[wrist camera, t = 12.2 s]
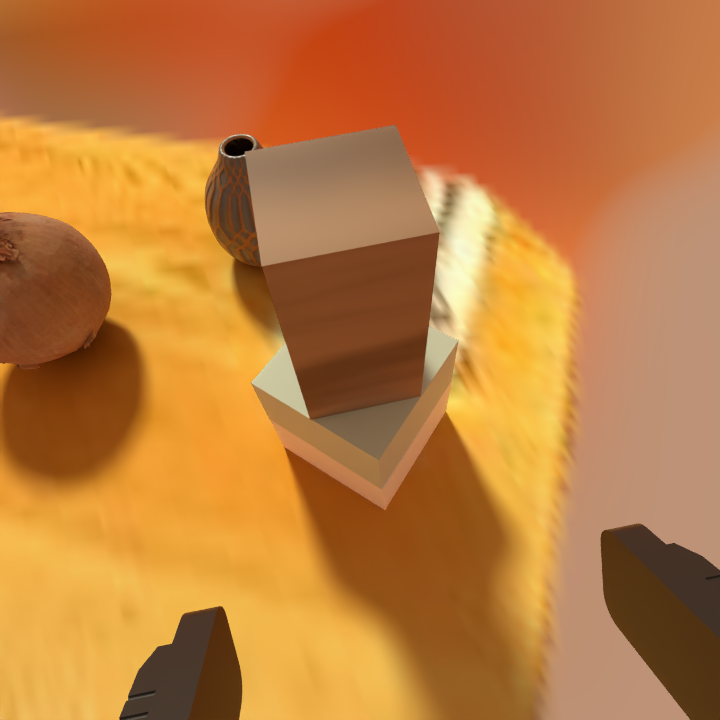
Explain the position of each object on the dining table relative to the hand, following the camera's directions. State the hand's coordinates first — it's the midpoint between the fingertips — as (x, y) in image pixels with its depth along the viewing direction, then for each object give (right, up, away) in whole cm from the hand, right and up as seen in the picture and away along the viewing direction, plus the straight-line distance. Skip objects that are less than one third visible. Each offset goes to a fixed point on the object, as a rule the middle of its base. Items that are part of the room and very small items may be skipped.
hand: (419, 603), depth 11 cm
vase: (-8, +14, +28) cm, 32 cm away
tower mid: (-1, +3, +17) cm, 17 cm away
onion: (-22, +7, +25) cm, 34 cm away
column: (-2, +5, +13) cm, 14 cm away
